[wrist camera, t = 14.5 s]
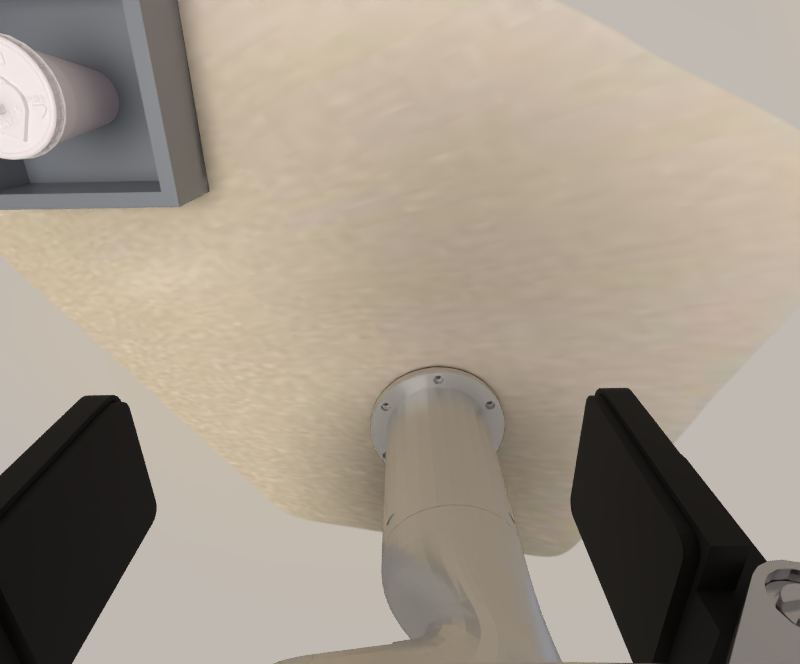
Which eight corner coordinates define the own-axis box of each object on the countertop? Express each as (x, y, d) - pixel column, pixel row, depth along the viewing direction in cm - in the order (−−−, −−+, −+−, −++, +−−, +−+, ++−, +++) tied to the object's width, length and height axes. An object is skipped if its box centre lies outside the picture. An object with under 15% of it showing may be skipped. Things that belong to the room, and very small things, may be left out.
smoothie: (85, 160, 38) (-73, 193, 25) (25, 71, 36) (-183, 59, 23) (157, 121, 37) (29, 136, 24) (100, 28, 34) (-75, -12, 22)
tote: (209, 191, 40) (179, 206, 35) (30, 194, 40) (-28, 210, 35) (172, -25, 34) (129, -47, 29) (-38, -21, 34) (-120, -42, 29)
